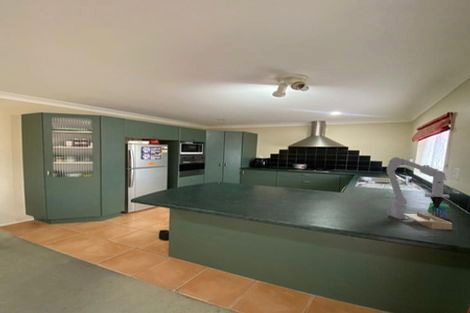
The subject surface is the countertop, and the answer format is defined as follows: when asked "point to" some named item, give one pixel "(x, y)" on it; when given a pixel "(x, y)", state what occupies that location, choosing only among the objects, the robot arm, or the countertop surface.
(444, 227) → the mailer box
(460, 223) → the countertop surface
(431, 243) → the countertop surface
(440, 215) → the snack cup
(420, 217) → the mailer lid
